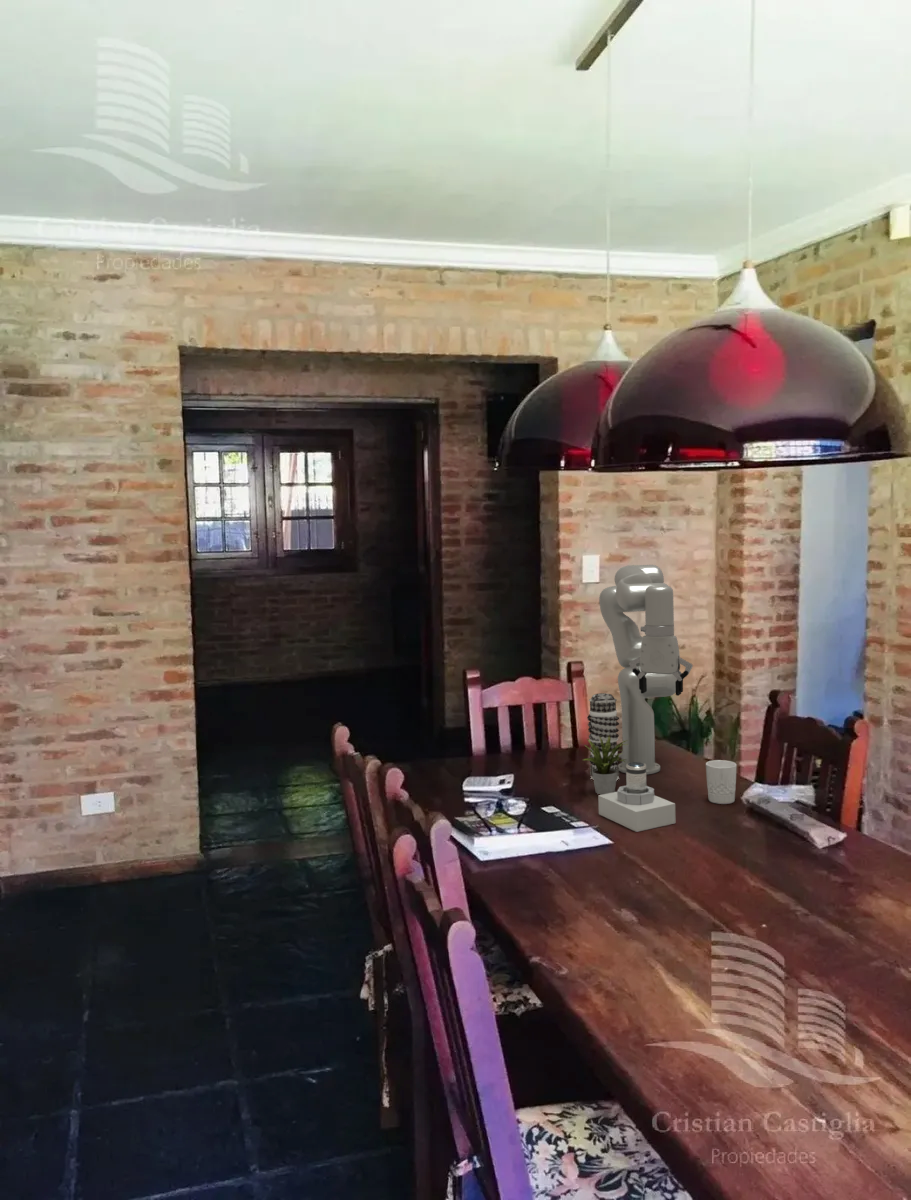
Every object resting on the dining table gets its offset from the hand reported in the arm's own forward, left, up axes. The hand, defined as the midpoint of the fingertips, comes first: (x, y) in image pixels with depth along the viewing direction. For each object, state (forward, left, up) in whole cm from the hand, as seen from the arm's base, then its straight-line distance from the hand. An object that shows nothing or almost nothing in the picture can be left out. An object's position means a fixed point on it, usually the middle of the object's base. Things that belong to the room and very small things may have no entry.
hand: (661, 693), depth 251 cm
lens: (+12, -18, -23) cm, 32 cm away
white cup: (+12, +10, -29) cm, 33 cm away
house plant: (-9, -12, -28) cm, 32 cm away
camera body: (+12, -18, -28) cm, 36 cm away
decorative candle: (-22, -4, -28) cm, 36 cm away
